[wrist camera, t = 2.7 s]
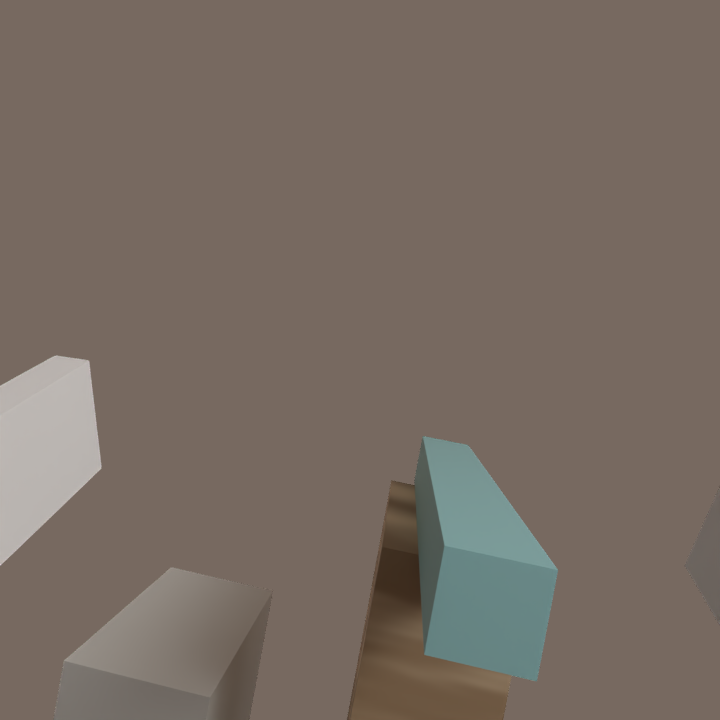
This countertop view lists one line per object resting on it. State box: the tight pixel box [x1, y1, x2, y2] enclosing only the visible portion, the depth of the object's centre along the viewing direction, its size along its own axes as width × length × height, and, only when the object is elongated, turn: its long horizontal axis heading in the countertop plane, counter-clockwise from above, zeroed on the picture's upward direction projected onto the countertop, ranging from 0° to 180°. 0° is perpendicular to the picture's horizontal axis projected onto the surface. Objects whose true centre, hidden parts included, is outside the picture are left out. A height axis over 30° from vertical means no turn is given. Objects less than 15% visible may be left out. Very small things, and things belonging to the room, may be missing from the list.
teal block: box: [415, 436, 558, 681], centre depth 28 cm, size 24×4×4 cm, turn 175°
